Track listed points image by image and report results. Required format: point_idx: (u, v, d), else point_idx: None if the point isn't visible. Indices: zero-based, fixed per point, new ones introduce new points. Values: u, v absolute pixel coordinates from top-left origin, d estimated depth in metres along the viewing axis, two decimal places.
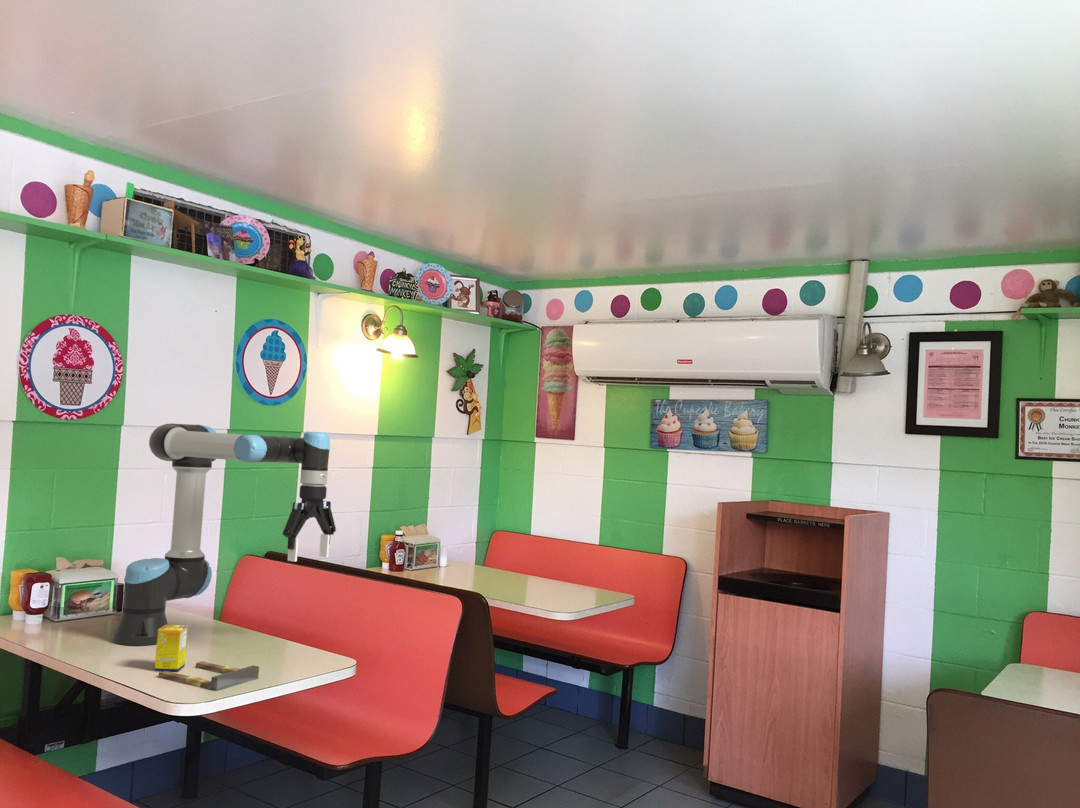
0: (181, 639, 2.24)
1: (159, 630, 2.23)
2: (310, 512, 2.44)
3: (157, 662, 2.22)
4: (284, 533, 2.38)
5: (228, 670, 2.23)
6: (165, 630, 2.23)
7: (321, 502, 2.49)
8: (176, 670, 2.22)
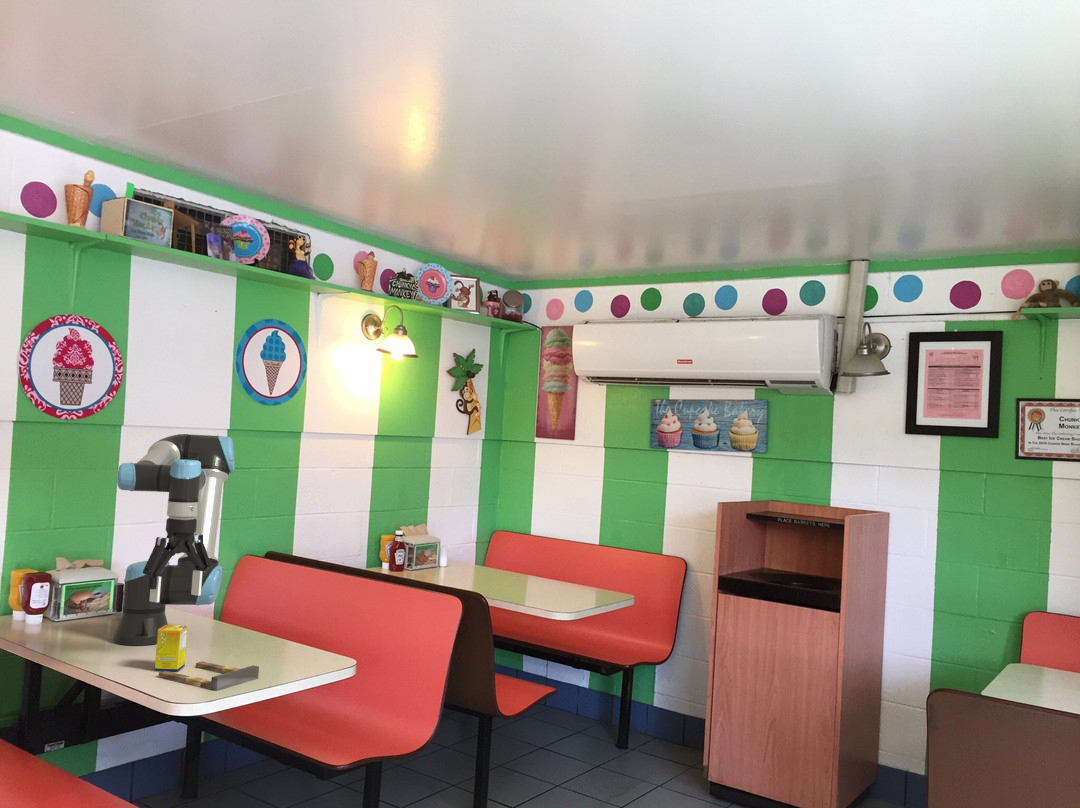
0: (181, 639, 2.24)
1: (159, 630, 2.22)
2: (176, 548, 2.24)
3: (157, 662, 2.22)
4: (144, 571, 2.18)
5: (228, 670, 2.23)
6: (165, 630, 2.23)
7: (191, 536, 2.29)
8: (176, 670, 2.22)
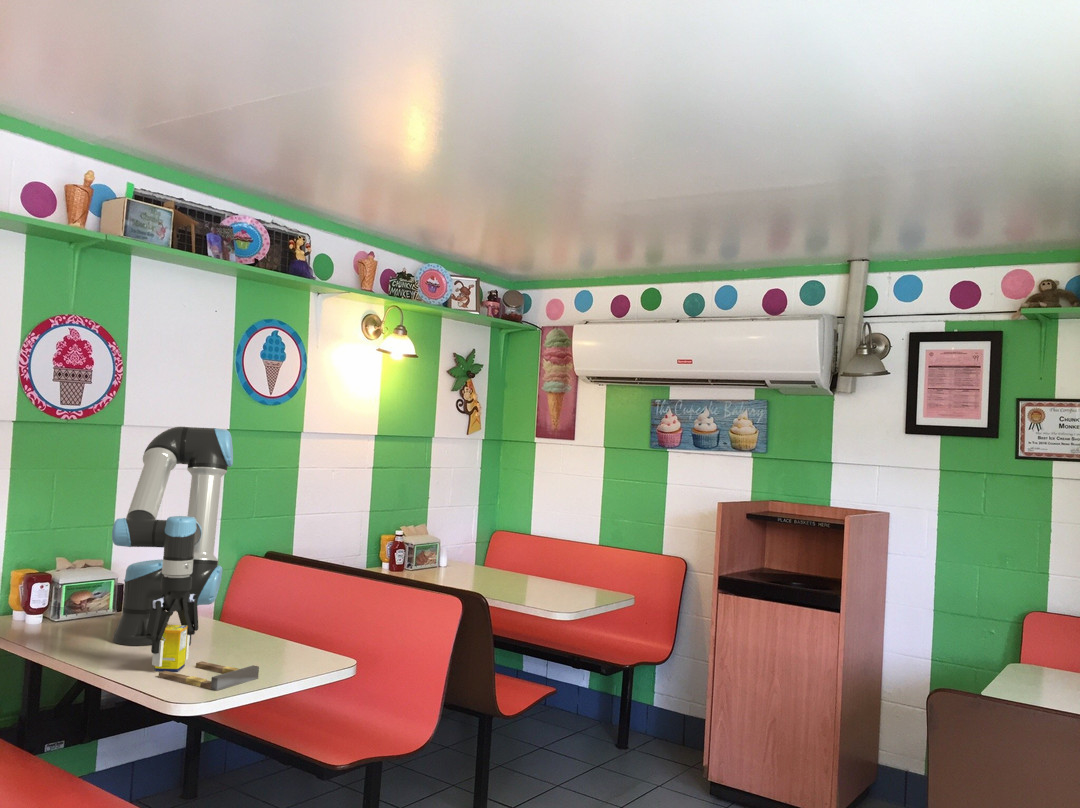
0: (181, 639, 2.24)
1: None
2: (172, 607, 2.23)
3: None
4: (147, 637, 2.19)
5: (228, 670, 2.23)
6: (165, 630, 2.23)
7: (187, 593, 2.28)
8: (176, 670, 2.22)
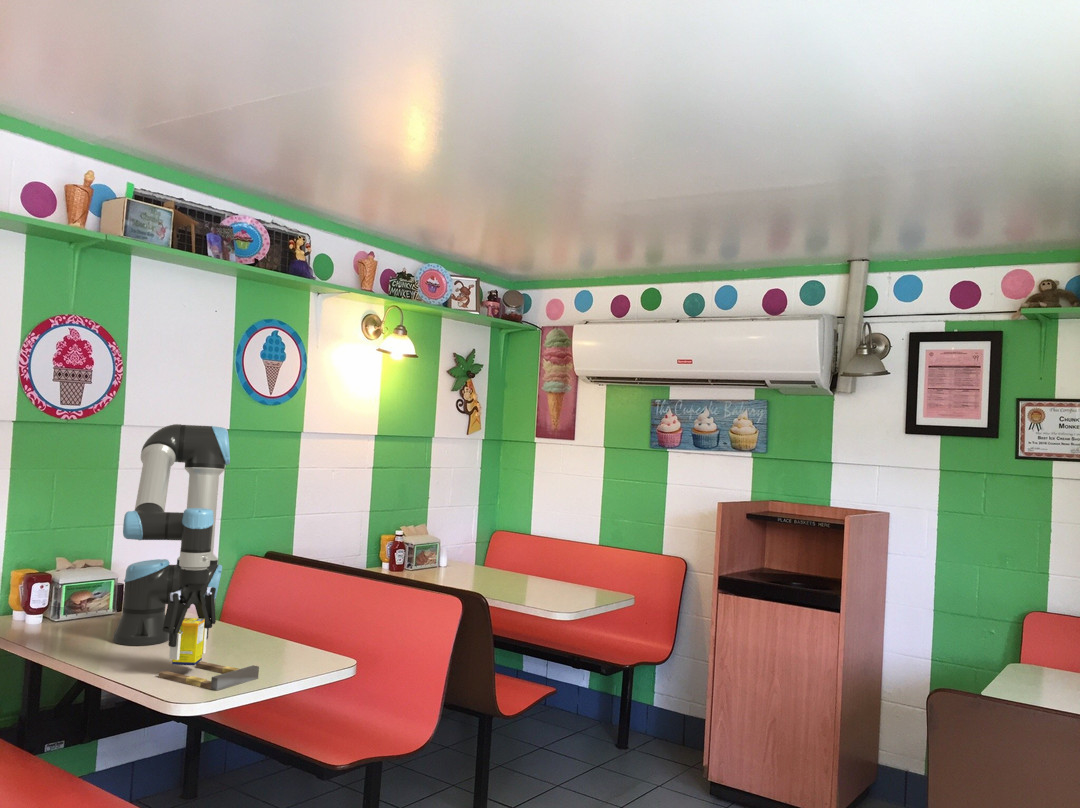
0: (198, 632, 2.21)
1: None
2: (190, 600, 2.21)
3: None
4: (164, 630, 2.16)
5: (228, 670, 2.23)
6: (182, 623, 2.20)
7: (204, 586, 2.26)
8: (193, 663, 2.20)
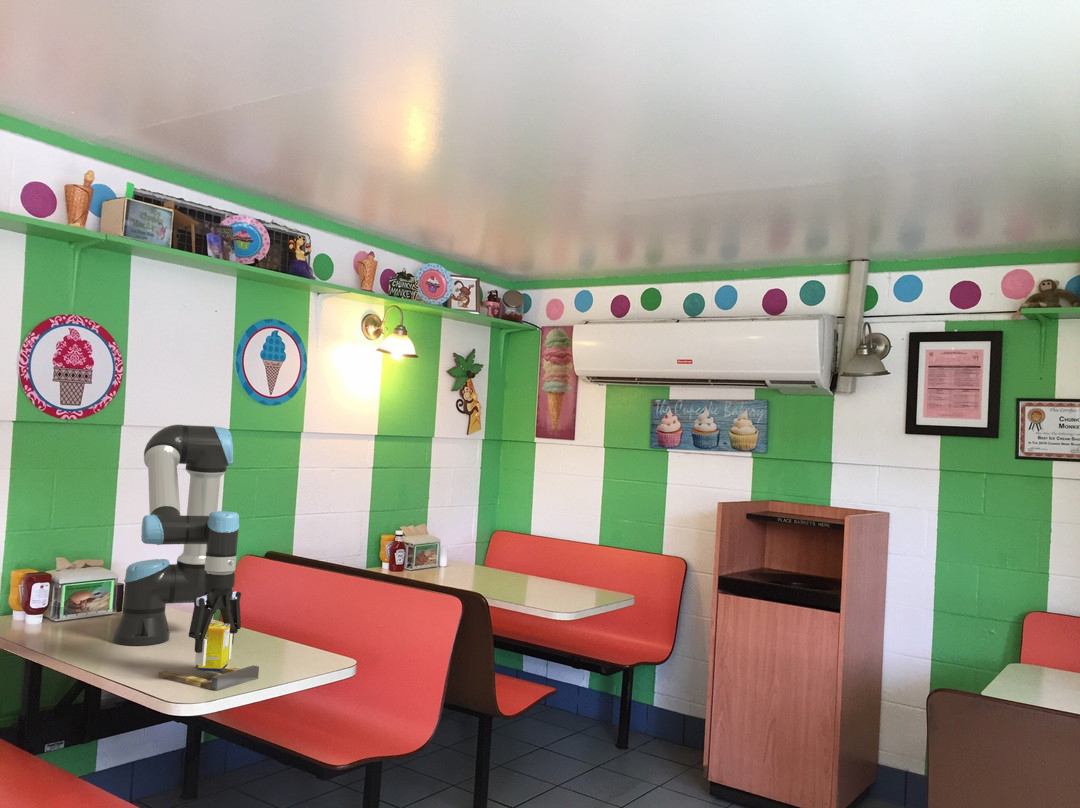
0: (224, 637, 2.18)
1: None
2: (216, 605, 2.17)
3: None
4: (190, 636, 2.13)
5: (228, 670, 2.23)
6: (208, 628, 2.16)
7: (230, 590, 2.22)
8: (220, 669, 2.16)
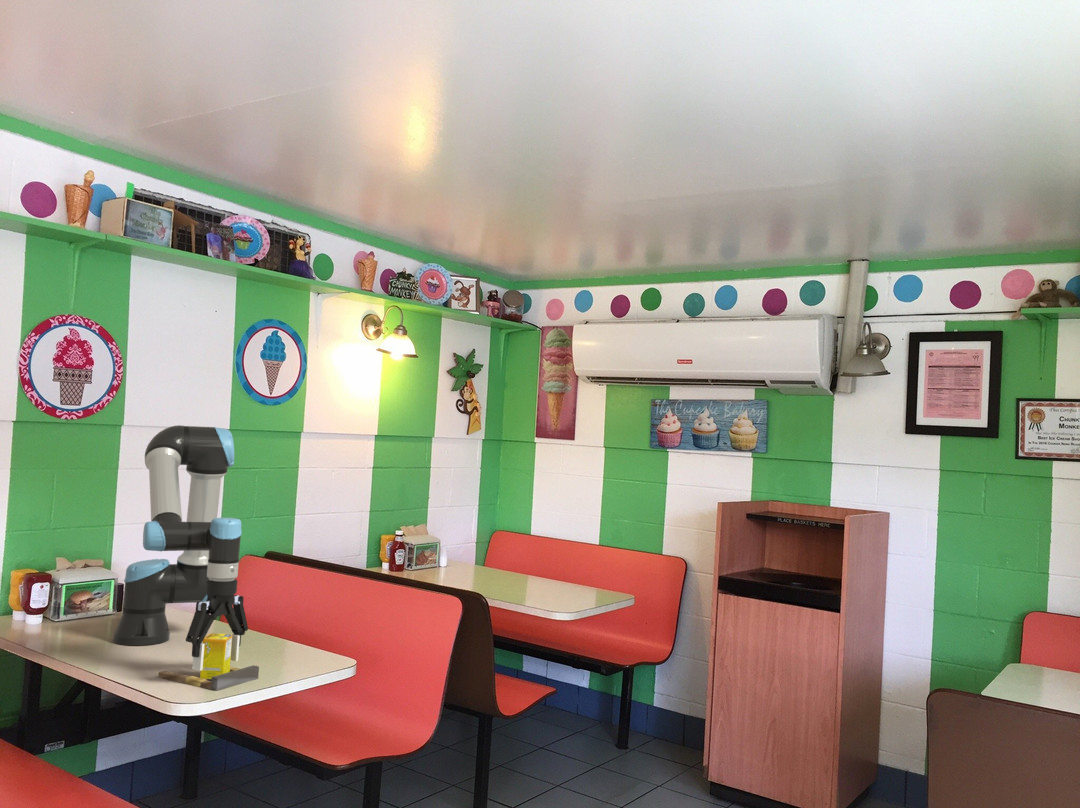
0: (226, 648, 2.17)
1: (204, 639, 2.16)
2: (217, 611, 2.16)
3: (202, 672, 2.15)
4: (187, 640, 2.11)
5: None
6: (210, 639, 2.16)
7: (232, 597, 2.21)
8: None
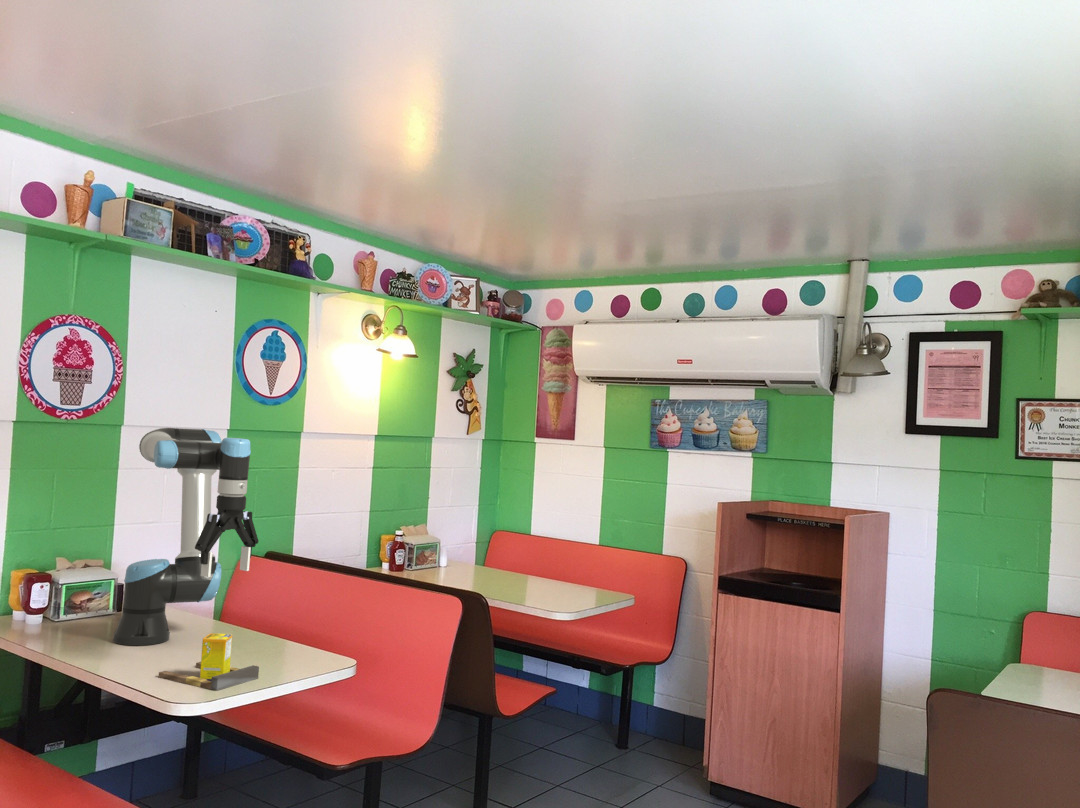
0: (226, 648, 2.17)
1: (204, 639, 2.16)
2: (227, 524, 2.28)
3: (202, 672, 2.15)
4: (196, 547, 2.22)
5: None
6: (210, 639, 2.16)
7: (240, 513, 2.33)
8: None
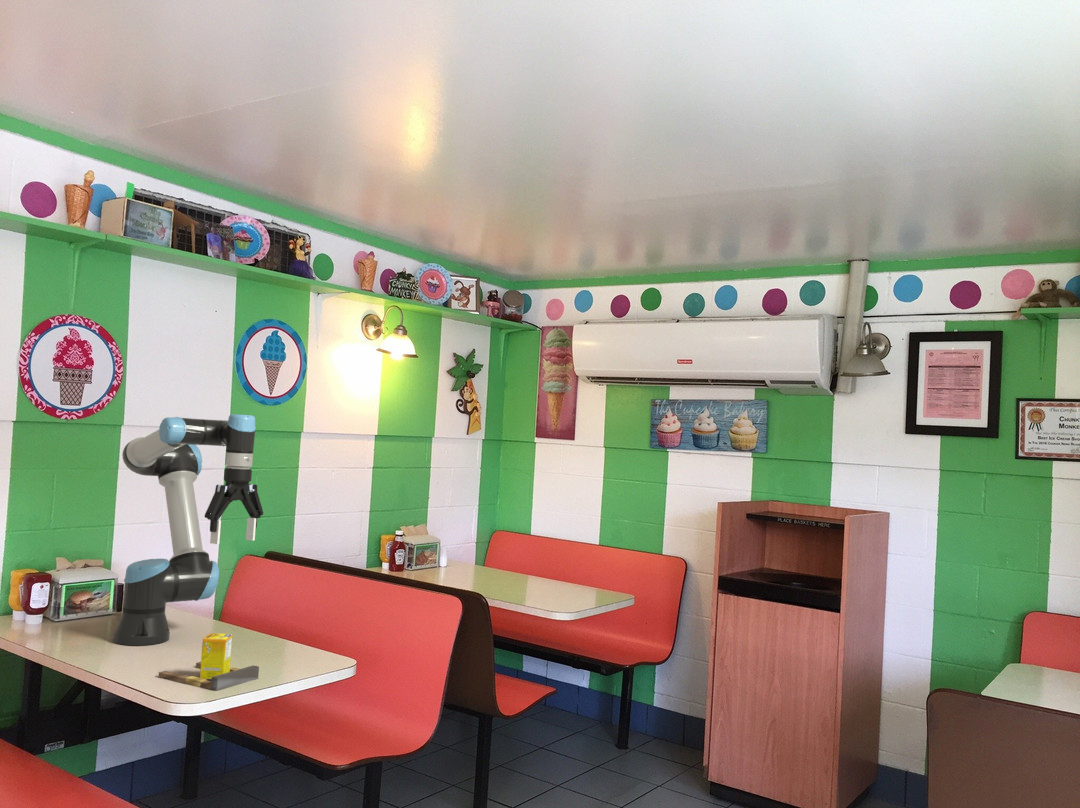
0: (226, 648, 2.17)
1: (204, 639, 2.16)
2: (234, 495, 2.43)
3: (202, 672, 2.15)
4: (206, 515, 2.37)
5: None
6: (210, 639, 2.16)
7: (246, 485, 2.48)
8: None
